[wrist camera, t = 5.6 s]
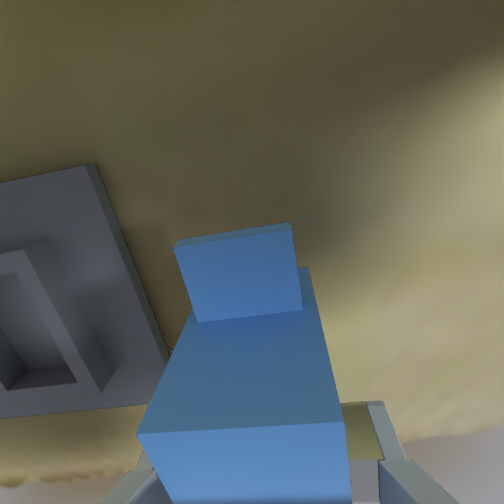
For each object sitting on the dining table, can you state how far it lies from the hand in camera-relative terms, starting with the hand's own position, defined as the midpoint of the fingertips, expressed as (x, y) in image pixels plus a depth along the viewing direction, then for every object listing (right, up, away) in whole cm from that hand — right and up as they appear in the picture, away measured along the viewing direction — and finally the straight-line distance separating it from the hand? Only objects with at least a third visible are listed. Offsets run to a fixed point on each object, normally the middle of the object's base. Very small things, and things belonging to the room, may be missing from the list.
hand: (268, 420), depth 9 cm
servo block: (0, +1, +3) cm, 3 cm away
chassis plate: (-16, +1, +12) cm, 20 cm away
